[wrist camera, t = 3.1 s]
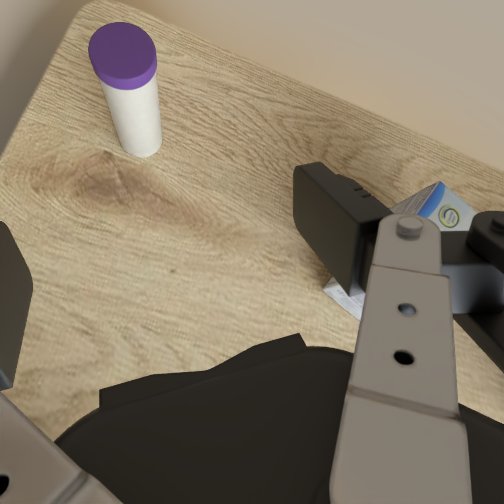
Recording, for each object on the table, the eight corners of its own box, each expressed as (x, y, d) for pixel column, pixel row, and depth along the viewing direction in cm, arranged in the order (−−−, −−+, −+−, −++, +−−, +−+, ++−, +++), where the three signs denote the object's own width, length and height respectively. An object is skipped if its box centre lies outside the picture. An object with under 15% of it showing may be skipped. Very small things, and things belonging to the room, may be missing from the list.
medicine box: (362, 325, 31) (431, 326, 22) (318, 289, 31) (370, 275, 22) (415, 250, 33) (496, 223, 24) (374, 215, 33) (440, 177, 24)
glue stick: (123, 162, 30) (95, 84, 20) (113, 121, 30) (82, 24, 20) (168, 155, 30) (162, 75, 21) (158, 114, 31) (148, 18, 21)
